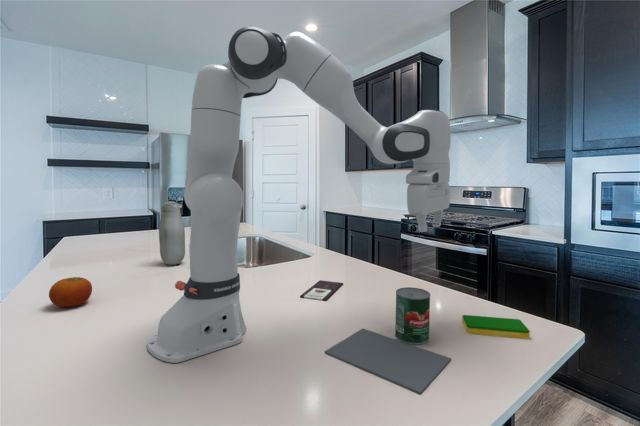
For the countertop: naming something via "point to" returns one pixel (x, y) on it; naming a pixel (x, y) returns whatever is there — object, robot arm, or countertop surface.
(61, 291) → the fruit
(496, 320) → the dish sponge
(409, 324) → the canned tomato
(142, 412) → the countertop surface
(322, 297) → the chocolate bar
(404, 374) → the rubber mat
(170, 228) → the grey bottle
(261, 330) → the countertop surface
